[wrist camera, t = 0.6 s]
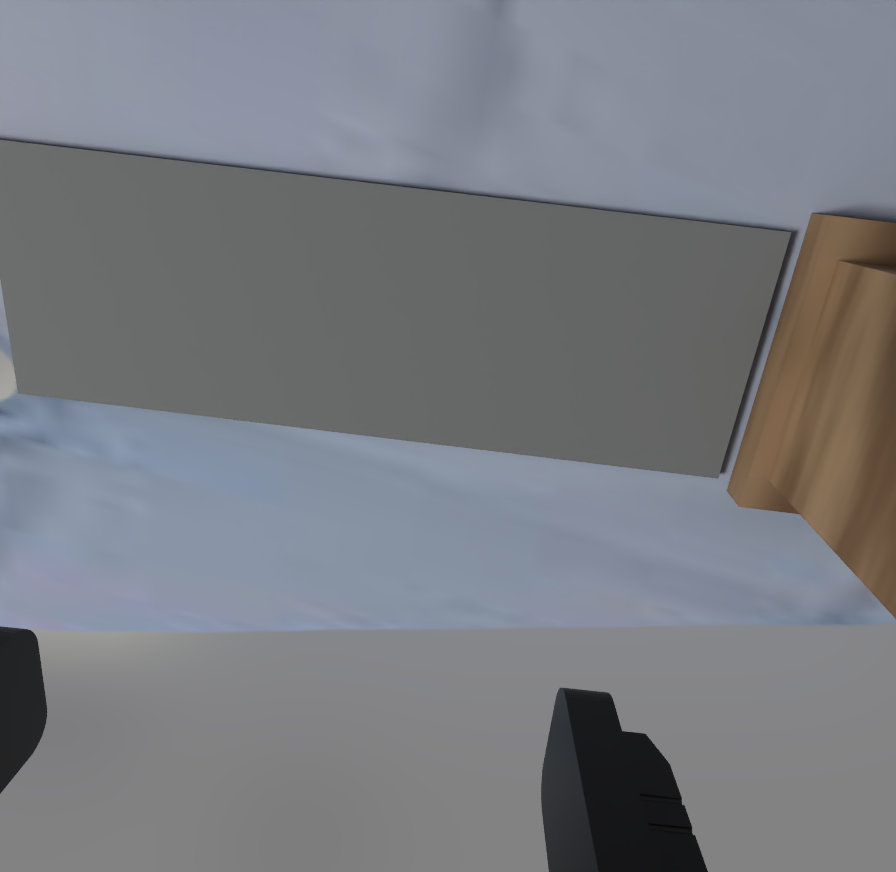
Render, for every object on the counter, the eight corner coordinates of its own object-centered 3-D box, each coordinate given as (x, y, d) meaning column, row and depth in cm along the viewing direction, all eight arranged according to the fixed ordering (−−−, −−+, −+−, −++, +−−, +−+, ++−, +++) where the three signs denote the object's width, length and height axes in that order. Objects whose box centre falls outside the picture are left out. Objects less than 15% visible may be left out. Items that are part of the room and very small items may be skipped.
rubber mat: (24, 390, 39) (18, 393, 39) (-14, 137, 34) (-22, 137, 33) (714, 474, 39) (718, 478, 38) (786, 231, 33) (791, 232, 33)
